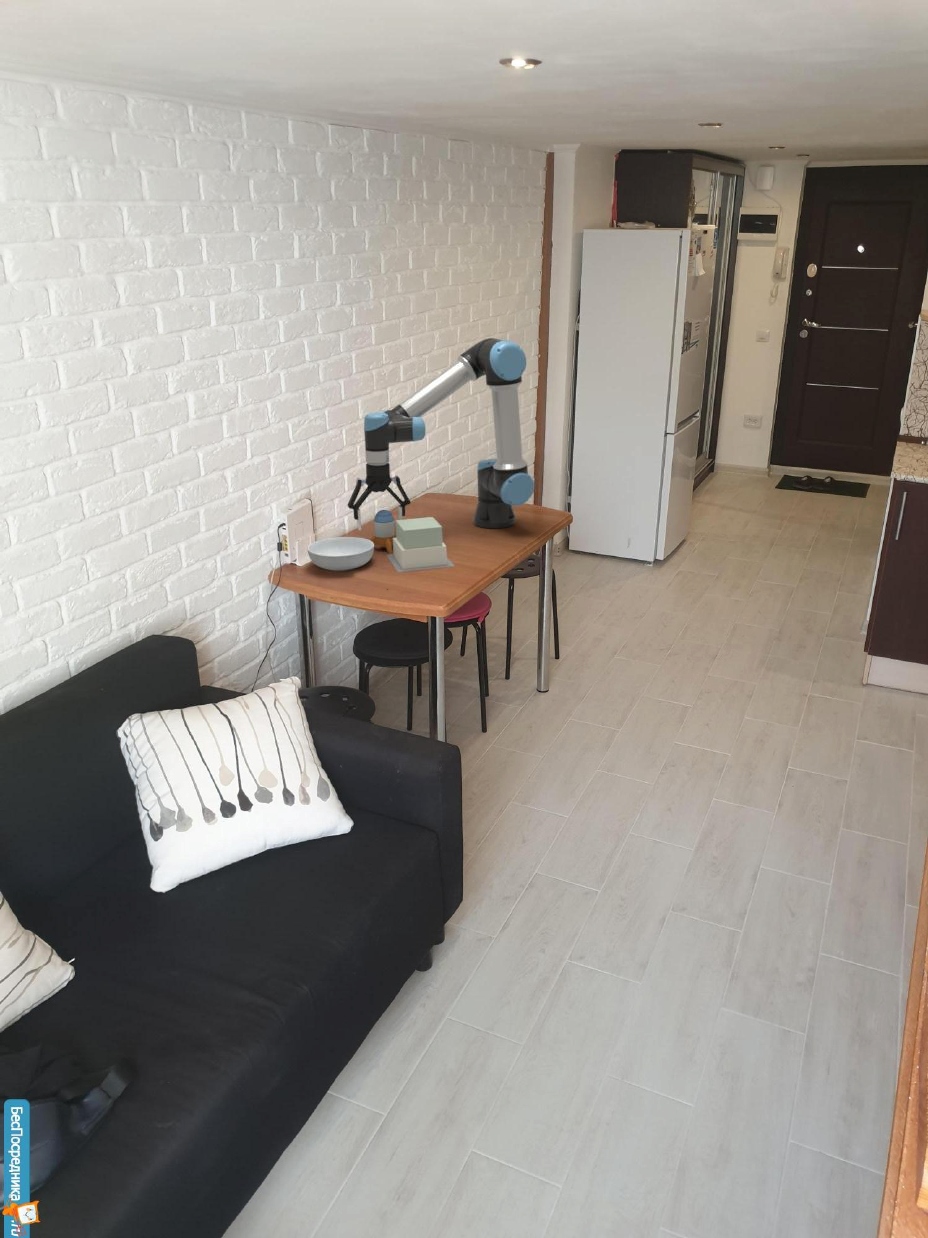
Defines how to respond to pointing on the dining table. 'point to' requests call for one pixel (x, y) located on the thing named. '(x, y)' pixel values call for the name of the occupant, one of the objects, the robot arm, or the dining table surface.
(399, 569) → the base plate
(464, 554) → the dining table surface
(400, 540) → the upper brick
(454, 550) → the dining table surface
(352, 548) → the serving bowl
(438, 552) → the lower brick
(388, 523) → the toy rocket
